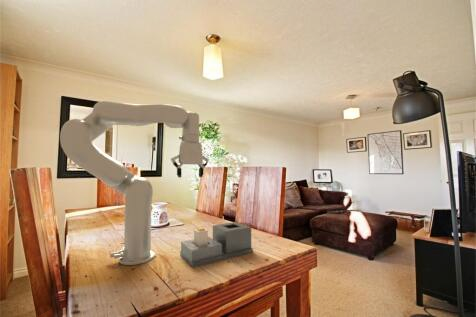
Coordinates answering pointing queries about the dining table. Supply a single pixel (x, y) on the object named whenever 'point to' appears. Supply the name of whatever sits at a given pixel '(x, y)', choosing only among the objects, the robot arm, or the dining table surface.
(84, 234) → the dining table surface
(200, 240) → the plug
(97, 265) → the dining table surface
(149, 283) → the dining table surface
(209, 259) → the socket block
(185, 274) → the dining table surface
